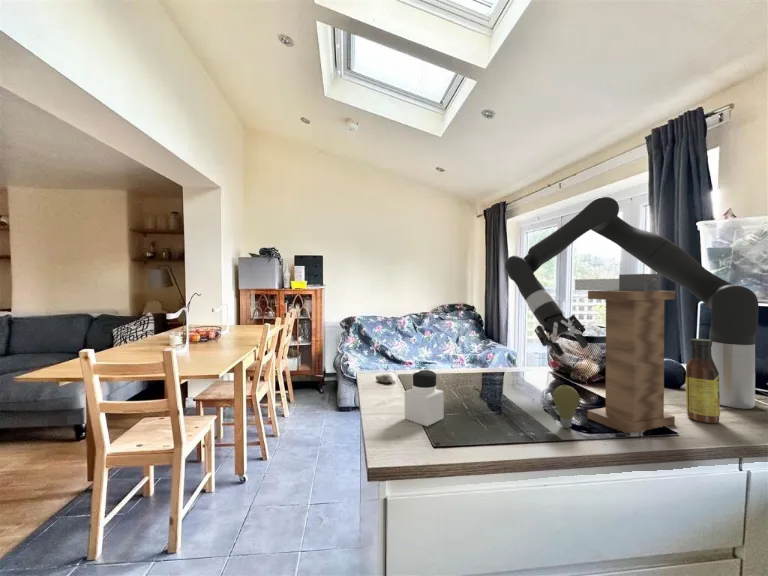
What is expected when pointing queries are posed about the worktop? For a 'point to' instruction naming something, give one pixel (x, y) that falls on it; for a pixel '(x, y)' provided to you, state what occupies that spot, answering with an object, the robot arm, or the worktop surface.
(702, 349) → the sauce bottle
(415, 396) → the medicine bottle
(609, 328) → the stand
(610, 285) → the grey metal bar
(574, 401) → the light bulb
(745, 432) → the worktop surface
